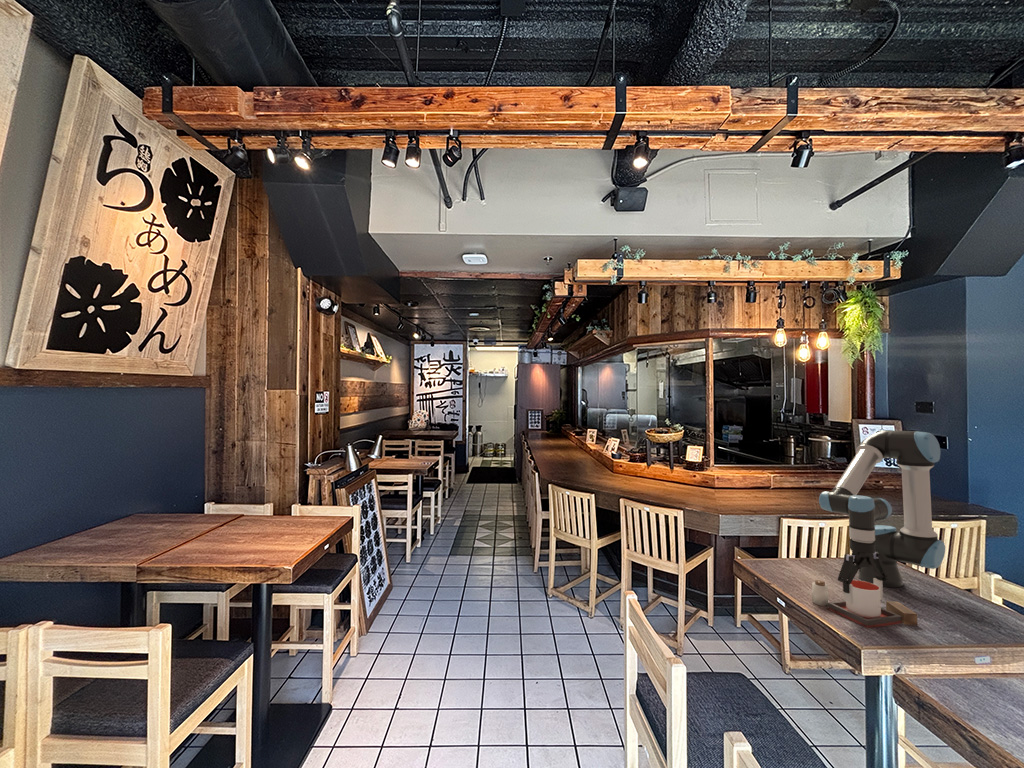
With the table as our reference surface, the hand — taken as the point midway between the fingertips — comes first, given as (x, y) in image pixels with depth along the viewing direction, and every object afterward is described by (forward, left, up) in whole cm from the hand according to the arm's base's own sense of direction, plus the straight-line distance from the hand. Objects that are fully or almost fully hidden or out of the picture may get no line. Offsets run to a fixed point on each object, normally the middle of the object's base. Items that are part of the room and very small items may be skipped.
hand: (863, 599), depth 169 cm
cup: (0, 0, -5) cm, 5 cm away
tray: (0, 0, -6) cm, 6 cm away
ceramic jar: (+6, -12, -6) cm, 15 cm away
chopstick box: (-11, +5, -6) cm, 14 cm away
